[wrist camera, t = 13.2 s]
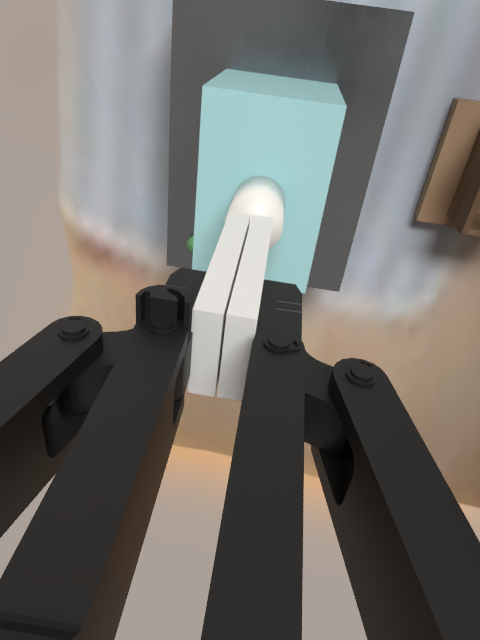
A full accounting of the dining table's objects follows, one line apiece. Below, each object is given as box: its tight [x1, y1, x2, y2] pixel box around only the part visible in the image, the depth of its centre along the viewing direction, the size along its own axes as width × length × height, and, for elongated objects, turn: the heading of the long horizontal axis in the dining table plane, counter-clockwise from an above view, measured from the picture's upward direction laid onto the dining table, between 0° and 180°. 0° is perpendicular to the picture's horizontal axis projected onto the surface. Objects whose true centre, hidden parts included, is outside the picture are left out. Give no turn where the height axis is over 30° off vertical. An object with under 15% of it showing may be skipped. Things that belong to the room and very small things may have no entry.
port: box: [167, 0, 414, 292], centre depth 30 cm, size 12×16×6 cm
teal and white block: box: [192, 69, 347, 293], centre depth 25 cm, size 6×9×14 cm, turn 174°
